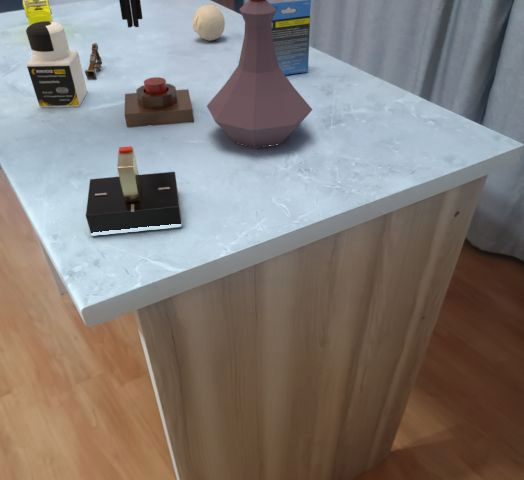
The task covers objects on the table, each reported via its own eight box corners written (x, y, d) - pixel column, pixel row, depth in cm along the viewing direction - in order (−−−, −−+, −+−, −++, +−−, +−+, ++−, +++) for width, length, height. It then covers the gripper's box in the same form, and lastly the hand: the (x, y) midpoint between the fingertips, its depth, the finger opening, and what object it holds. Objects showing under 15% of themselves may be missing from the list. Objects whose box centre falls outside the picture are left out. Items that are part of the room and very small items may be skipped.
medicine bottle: (39, 108, 91) (15, 30, 82) (49, 93, 96) (27, 18, 87) (80, 107, 91) (60, 29, 82) (88, 92, 96) (70, 17, 87)
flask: (217, 113, 89) (207, -29, 74) (313, 116, 87) (321, -28, 73) (198, 156, 77) (183, -1, 63) (308, 161, 76) (317, 1, 62)
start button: (145, 97, 85) (143, 85, 83) (145, 89, 87) (143, 78, 86) (167, 95, 85) (166, 84, 84) (166, 87, 87) (165, 76, 86)
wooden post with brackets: (105, 59, 106) (98, 39, 101) (100, 89, 103) (93, 70, 99) (96, 59, 106) (89, 39, 102) (91, 89, 103) (84, 70, 99)
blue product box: (300, 66, 105) (303, -6, 96) (308, 72, 102) (312, -1, 93) (259, 72, 103) (258, -2, 94) (266, 78, 100) (266, 4, 91)
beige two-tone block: (139, 201, 63) (132, 164, 59) (124, 202, 63) (116, 165, 59) (140, 181, 66) (133, 145, 63) (125, 182, 66) (118, 146, 63)
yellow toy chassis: (30, 25, 127) (18, -16, 121) (54, 23, 128) (43, -18, 122) (33, 44, 116) (20, 0, 110) (59, 41, 118) (47, -2, 112)
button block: (127, 127, 85) (122, 102, 82) (127, 106, 91) (122, 82, 88) (193, 122, 86) (191, 97, 83) (189, 102, 92) (187, 78, 89)
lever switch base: (91, 237, 63) (85, 215, 61) (95, 199, 69) (89, 177, 67) (182, 228, 64) (178, 205, 62) (177, 191, 70) (174, 169, 68)
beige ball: (189, 37, 119) (186, 3, 114) (219, 33, 121) (217, 0, 116) (199, 46, 115) (195, 11, 110) (229, 41, 116) (228, 7, 112)
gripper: (44, -142, 61) (80, 33, 74) (170, -141, 63) (184, 30, 76) (50, -145, 66) (84, 20, 80) (167, -144, 68) (181, 17, 82)
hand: (133, 24), depth 78 cm, fingers closed
